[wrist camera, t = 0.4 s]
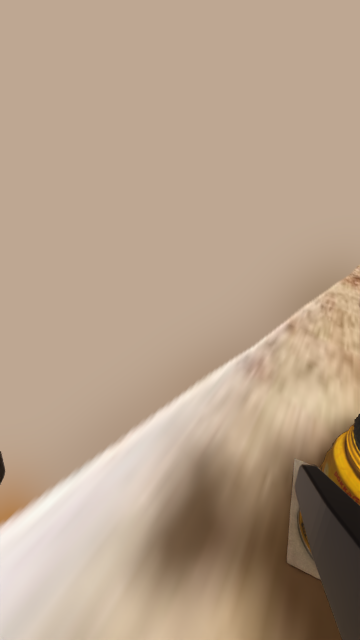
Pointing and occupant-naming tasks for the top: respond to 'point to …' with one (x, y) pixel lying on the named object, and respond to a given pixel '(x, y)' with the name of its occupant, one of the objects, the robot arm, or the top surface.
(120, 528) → the top surface
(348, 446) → the condiment
